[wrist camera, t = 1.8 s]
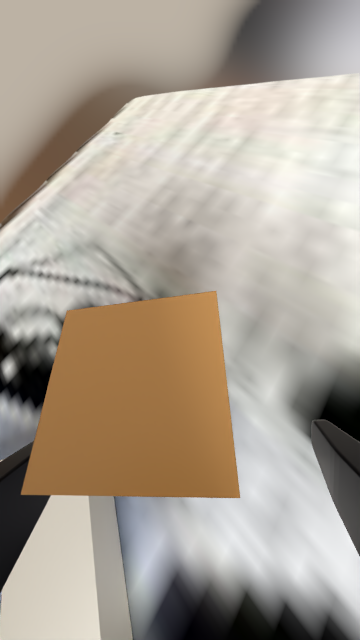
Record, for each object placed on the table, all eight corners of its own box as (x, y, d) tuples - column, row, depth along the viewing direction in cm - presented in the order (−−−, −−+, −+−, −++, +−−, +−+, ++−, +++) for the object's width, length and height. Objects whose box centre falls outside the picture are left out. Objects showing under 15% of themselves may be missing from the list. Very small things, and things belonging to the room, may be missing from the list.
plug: (235, 458, 15) (240, 497, 4) (174, 459, 15) (20, 495, 4) (228, 394, 17) (216, 290, 6) (174, 397, 17) (66, 310, 6)
